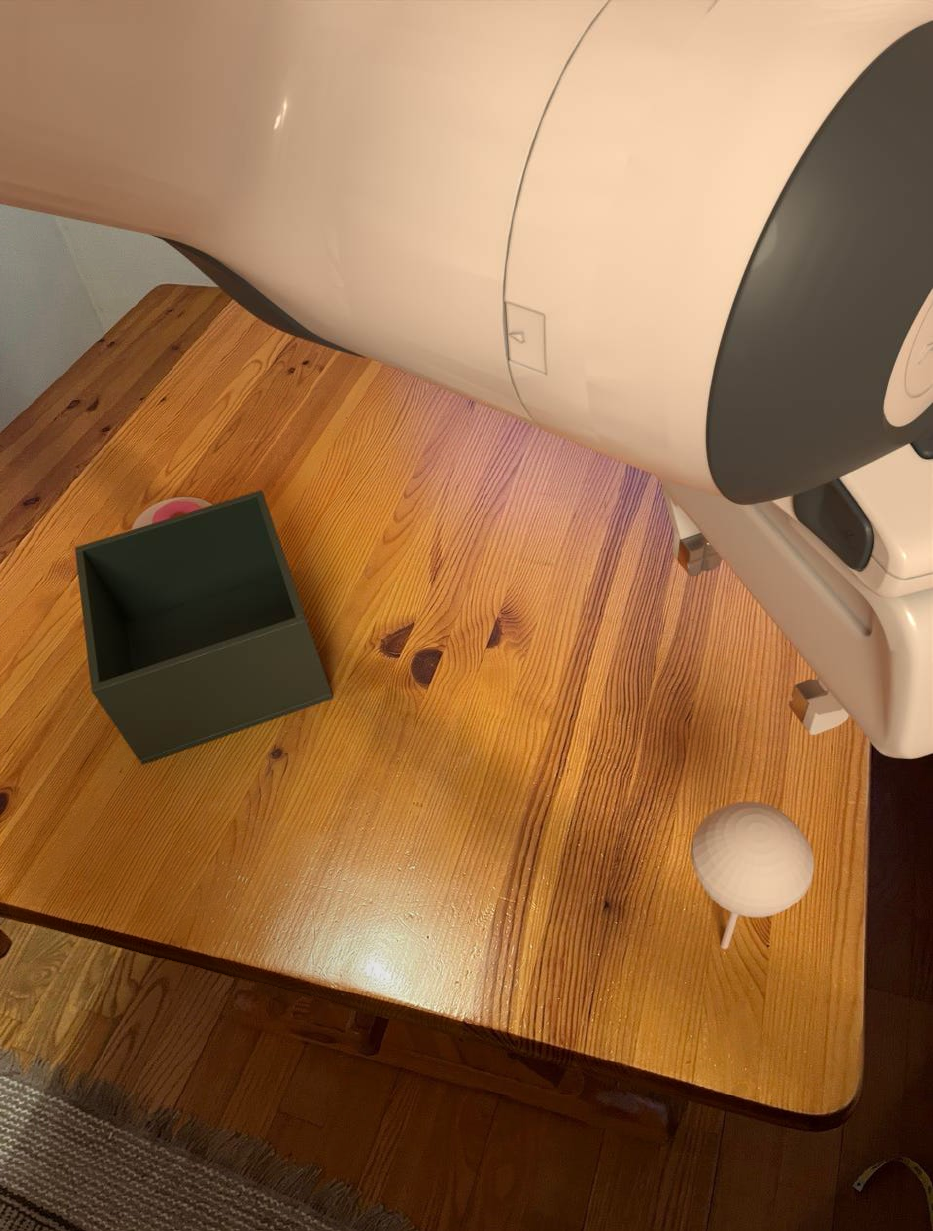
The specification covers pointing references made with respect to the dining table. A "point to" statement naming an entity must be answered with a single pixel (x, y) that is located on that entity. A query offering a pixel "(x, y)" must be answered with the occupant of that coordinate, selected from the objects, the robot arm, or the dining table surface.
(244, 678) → the bin
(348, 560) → the dining table surface
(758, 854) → the lollipop
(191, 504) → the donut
